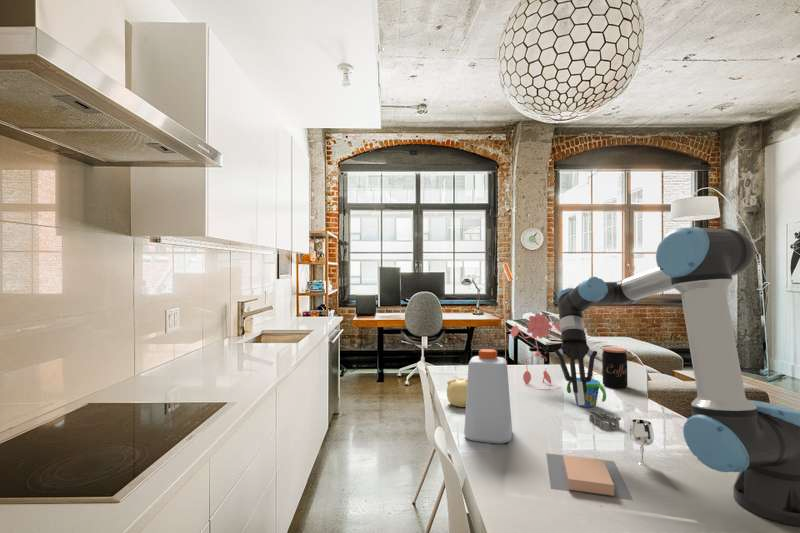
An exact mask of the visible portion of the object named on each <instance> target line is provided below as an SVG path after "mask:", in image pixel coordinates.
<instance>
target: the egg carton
mask: <svg viewBox="0 0 800 533" xmlns="http://www.w3.org/2000/svg"><path fill="white" fill-rule="evenodd" d="M587 412H588V416H589V417H588V421H589V422H590V423H591V422H592V423H594V425H595V426H599V428H600V429H602V430H605V431H608V430H607V429H609V430H610V429H613V428H614V430H619V428H620V421H622V419H621V417H620V416H615V415H613V416H612V415H610V414H607V413H606V412H604V411H603V412H601V411H600V410H599V411H594V410H592V411H590V410H587ZM607 422H608V423H607Z"/></svg>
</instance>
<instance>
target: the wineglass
mask: <svg viewBox="0 0 800 533" xmlns="http://www.w3.org/2000/svg"><path fill="white" fill-rule="evenodd" d="M654 432H655V431H654V428H653V424H652V422H651V421H649V420H646V419H640V418H639V419H638V418H636V419H635V418H634V419H632V420H631V424H630V428H629V436H630V439H631V441H632V442H634V443H635V444H637V445H638V446H640V447H639V451H640V457H641V458H640V461H638V462H637V463H638V464H639V465H642V466H646V465H647V463H645V461H644V453H645V452H644V451H645V448H644V447H645V446H650V445H652V444H653V442H654V440H655V433H654Z"/></svg>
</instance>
